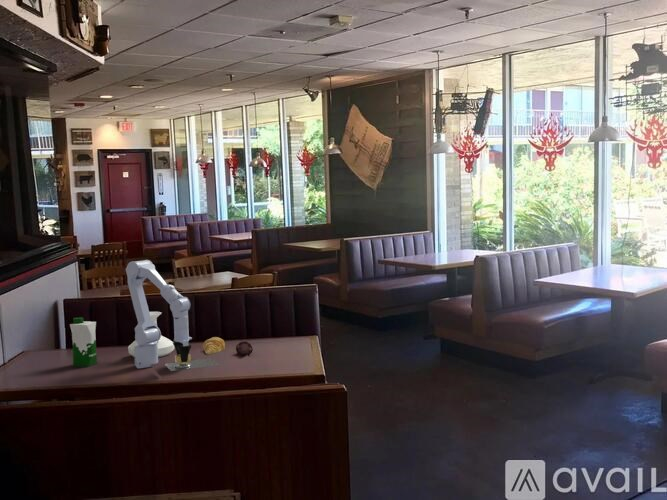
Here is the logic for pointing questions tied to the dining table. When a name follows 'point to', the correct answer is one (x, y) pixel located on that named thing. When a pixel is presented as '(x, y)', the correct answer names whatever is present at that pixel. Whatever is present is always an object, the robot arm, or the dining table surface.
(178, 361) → the ring
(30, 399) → the dining table surface
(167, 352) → the candle holder
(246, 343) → the icecream
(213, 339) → the croissant
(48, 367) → the dining table surface
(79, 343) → the milk carton
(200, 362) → the block
